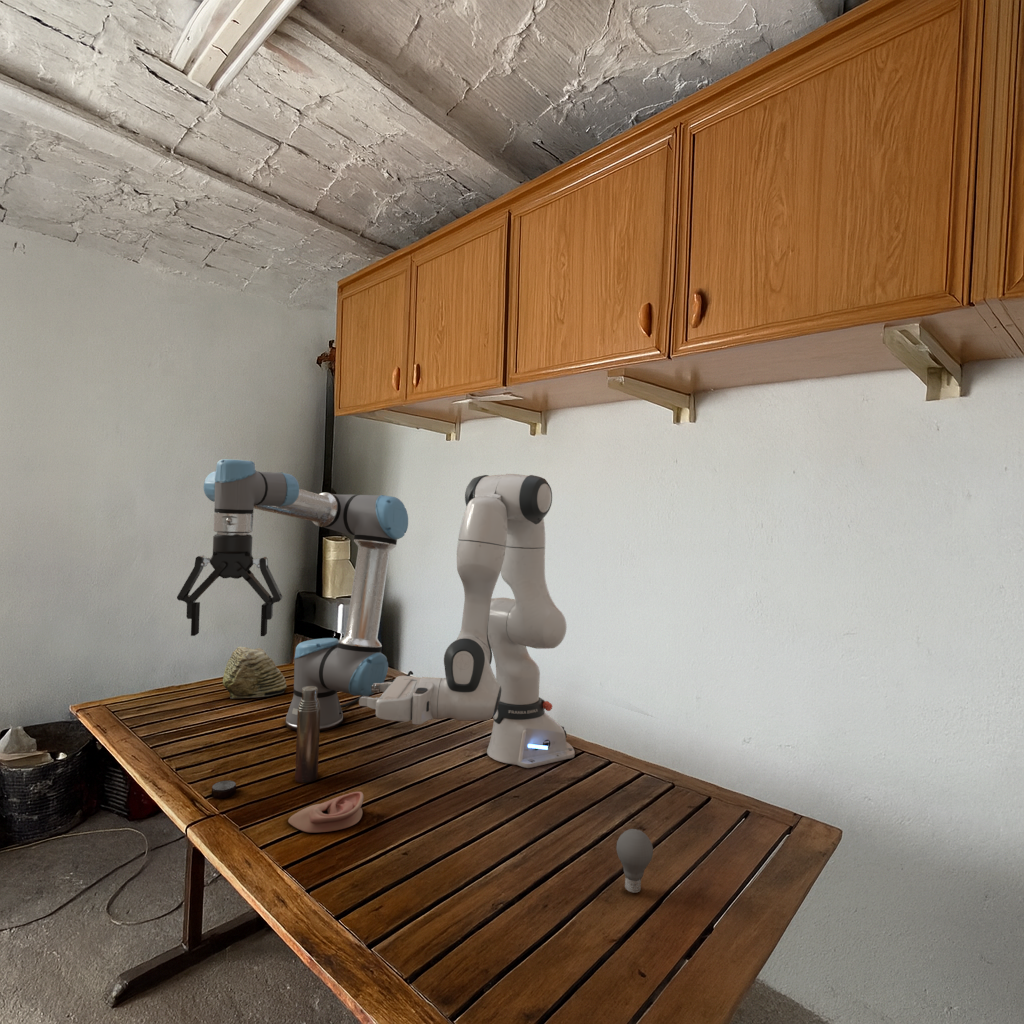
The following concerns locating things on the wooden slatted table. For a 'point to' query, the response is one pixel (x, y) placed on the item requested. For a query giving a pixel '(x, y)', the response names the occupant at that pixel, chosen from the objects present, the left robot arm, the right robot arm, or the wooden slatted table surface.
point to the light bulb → (634, 857)
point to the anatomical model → (329, 814)
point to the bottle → (307, 736)
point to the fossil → (252, 674)
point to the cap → (223, 789)
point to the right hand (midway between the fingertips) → (366, 693)
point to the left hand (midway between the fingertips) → (229, 634)
